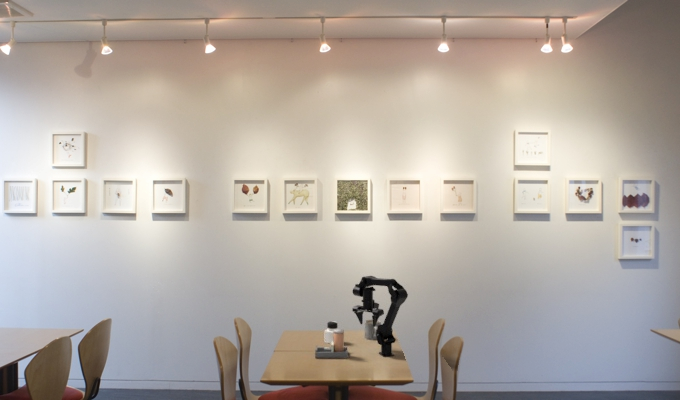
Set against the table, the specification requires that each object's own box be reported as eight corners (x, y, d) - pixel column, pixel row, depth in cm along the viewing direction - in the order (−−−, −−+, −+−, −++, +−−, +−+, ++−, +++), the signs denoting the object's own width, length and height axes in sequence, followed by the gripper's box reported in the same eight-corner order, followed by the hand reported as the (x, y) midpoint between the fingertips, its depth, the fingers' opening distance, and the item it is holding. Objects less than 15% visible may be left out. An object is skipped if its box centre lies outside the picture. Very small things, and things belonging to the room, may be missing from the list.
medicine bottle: (333, 344, 276) (333, 324, 276) (324, 342, 280) (324, 322, 280) (340, 341, 281) (340, 321, 282) (331, 339, 286) (331, 320, 286)
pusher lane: (347, 352, 260) (347, 345, 261) (348, 357, 251) (348, 350, 251) (315, 352, 260) (315, 345, 260) (315, 358, 250) (315, 350, 250)
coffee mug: (364, 335, 295) (364, 319, 295) (380, 335, 295) (379, 319, 295) (365, 341, 282) (365, 324, 282) (382, 341, 282) (382, 324, 282)
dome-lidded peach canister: (346, 353, 256) (345, 329, 257) (340, 356, 252) (340, 332, 252) (337, 352, 260) (337, 328, 260) (331, 354, 255) (331, 330, 255)
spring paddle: (333, 351, 259) (333, 341, 259) (333, 355, 252) (333, 345, 252) (324, 351, 259) (324, 341, 259) (323, 355, 252) (323, 345, 252)
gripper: (389, 298, 268) (389, 325, 268) (363, 294, 280) (363, 320, 280) (378, 301, 260) (378, 329, 260) (351, 296, 272) (351, 324, 272)
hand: (367, 325), depth 268 cm, fingers open, 9 cm apart
